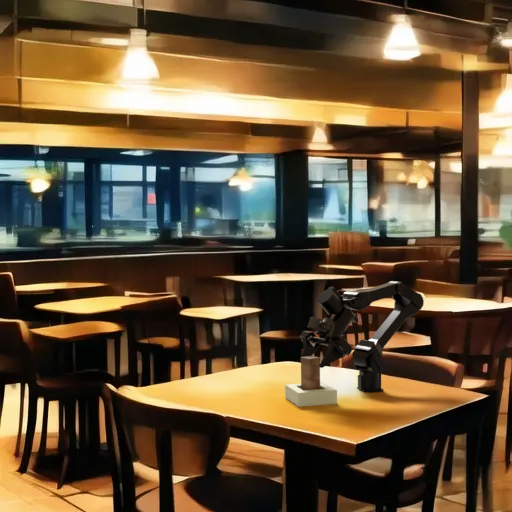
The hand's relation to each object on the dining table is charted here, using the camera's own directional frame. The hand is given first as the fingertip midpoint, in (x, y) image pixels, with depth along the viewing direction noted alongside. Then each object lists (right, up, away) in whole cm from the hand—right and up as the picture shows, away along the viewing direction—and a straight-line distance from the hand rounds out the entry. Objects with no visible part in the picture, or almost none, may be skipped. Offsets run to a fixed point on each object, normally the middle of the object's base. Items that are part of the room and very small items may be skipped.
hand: (310, 364), depth 220 cm
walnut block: (0, -10, 0) cm, 10 cm away
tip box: (0, -11, 0) cm, 11 cm away
